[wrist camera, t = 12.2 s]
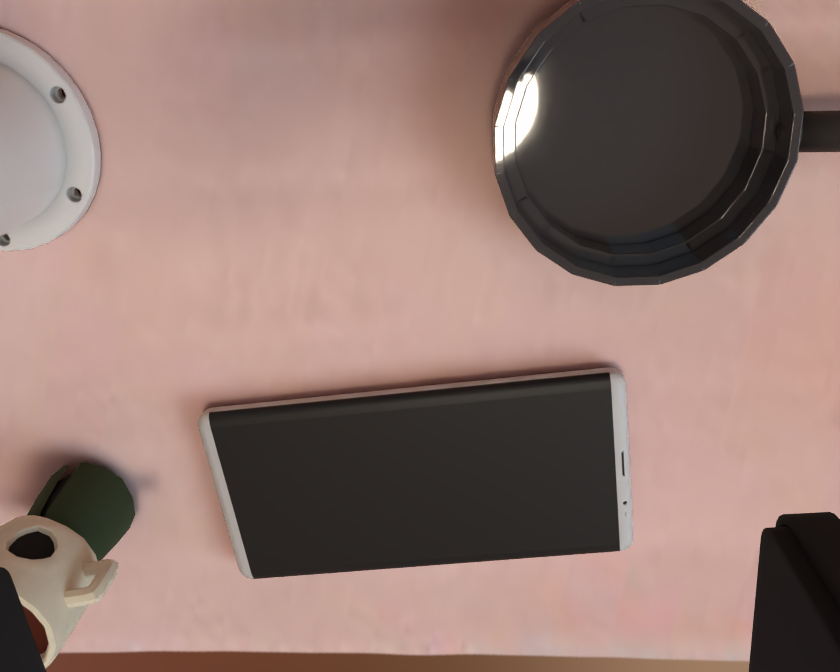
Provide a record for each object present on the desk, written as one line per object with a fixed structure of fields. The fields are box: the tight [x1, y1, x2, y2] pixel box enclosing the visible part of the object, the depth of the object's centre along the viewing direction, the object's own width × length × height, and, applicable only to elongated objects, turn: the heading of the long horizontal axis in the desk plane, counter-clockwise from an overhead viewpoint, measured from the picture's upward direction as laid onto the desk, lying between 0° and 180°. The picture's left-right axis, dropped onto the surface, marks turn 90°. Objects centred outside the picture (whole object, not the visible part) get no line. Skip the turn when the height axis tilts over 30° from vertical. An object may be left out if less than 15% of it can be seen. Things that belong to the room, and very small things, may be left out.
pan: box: [492, 0, 804, 286], centre depth 42 cm, size 15×15×4 cm
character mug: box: [0, 462, 135, 668], centre depth 49 cm, size 11×7×13 cm, turn 102°
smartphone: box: [198, 367, 633, 579], centre depth 52 cm, size 13×27×2 cm, turn 98°
